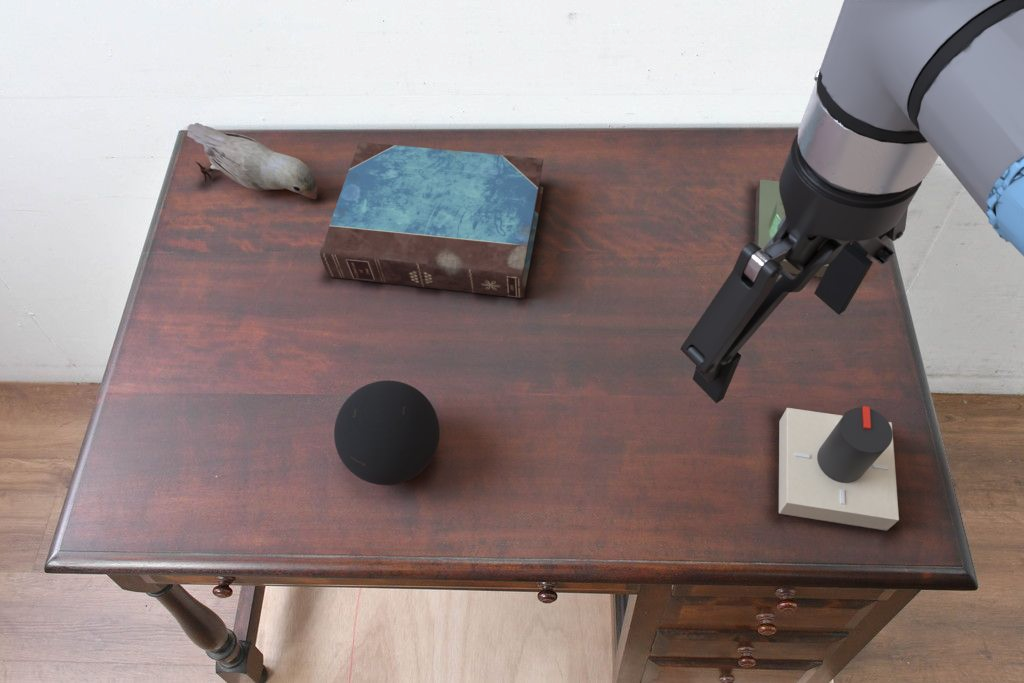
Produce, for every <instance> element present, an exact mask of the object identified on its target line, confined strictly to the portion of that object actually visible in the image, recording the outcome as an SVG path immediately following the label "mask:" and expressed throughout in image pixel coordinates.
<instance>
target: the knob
mask: <svg viewBox="0 0 1024 683" xmlns="http://www.w3.org/2000/svg"><path fill="white" fill-rule="evenodd" d="M842 416H843V417H842V418H841V420H840V421H839V422H838V424H837V425H836V426H835V428H834V429H833V431H832V432H831V433H830V435H829V436H828V437H827V439H826V440H825V442H824V443H823V444H822V446H821V447H820V449H819V451H818V455H817V460H818V464H819V466H820V468H821V470H822V471H823V472H824V474H825V475H827V476H828V477H829V478H831V479H832V480H835V481H837V482H841V483H850V482H854V481H856V480H858V479H859V478H860V477H861V476H862V475H863V474H864V473H865V472H866V471H867V470H868V469H869V467H870V466H871V465H872V464H873V463H874V462H875V461H876V460H877V459H878V457H879V456H880V455H881V454H882V453H883V452H884V451H885V450H886V449H887V447H888V446H889V445H890V443H891V441H892V436H893V437H894V434H892V432H893V428H892V429H891V426H890V424H889V422H890V421H888V419H887V418H886V417H885V416H884V415H883V414H881V413H880V412H878V411H876V410H874V409H872V408H871V407H870V406H867V405H863V406H862V407H859V406H858V407H854V408H851V409H849V410H848V411H846V412H845V413H844V414H843V415H842Z"/></svg>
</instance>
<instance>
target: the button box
mask: <svg viewBox="0 0 1024 683" xmlns="http://www.w3.org/2000/svg"><path fill="white" fill-rule="evenodd" d="M779 181H780V180H771V179H770V180H769V179H759V181H758V184H757V187H756V191H755V205H754V206H755V208H754V210H755V211H754V241H753V242H755V243H756V244H757V245H758V246H759V247H760V248H762V249H764V247H765V246H766V245H767V244H768V243H769V241H770V240H771V239H772V238H773V237H774V235H775V234H776V232H777V230H778V225H779V223H780V222H781V221H782V220H783V219H784V217H785V216H786V215H785V211H784V207H783V203H782V200H781V196H780V191H779ZM780 265H781V266H782V267H783V268H784V269H785V270H786V271H787V272H788V273H789V274H791V275H798V274H799V273H800V272H801V271H800V270H797V269H796V268H795V267H793V266H792V265H791V264H790V263H789V262H788V261H787V260H785V259H784V260H783V261H782V262H781V263H780ZM828 265H829V264H827V265H824V266H822V267H821V269H820V270H819V271H818V272H817V273H816V274H815V275H814V276H813V278H815V277H816V278H822V277H823V275H824V273H825V271H826V269H827V267H828Z"/></svg>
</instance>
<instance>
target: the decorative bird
mask: <svg viewBox="0 0 1024 683" xmlns="http://www.w3.org/2000/svg"><path fill="white" fill-rule="evenodd" d="M186 128H187V130H188V131H187V133H186V136H187V137H188V138H190V139H192V140H194V141H195V143H198V144H200V145H202V146H203V150H204V154H205V155H206V157H207V159H208V160H209V162H210V163H211V165H210V167H209V168H206V167H205V166H203V165H202V164H201V163H199V161H194V162H195V163H196V164H197V165H198V167H199V168H200V169H199V171H200V173H201V174H202V175H203V178H204V183H207V177H209V179H210V180H211V179H212V177H211V175H210V174H209V172H213V171H214V170H216V171H221V173H223V174H224V175H225V176H226V177H228V178H229V179H230V180H232V181H234V182H235V183H237V184H239V185H240V186H243V187H245V188H247V189H249V190H252V191H269V190H274V191H275V190H285V189H286V190H288V191H291V192H293V193H295V194H296V193H297V194H299V195H302V196H303V197H305V198H309V199H311V200H317V198H318V185H317V180H316V177H315V174H314V173H313V172H312V170H311V169H310V167H309V166H308V165H307V164H306V163H305V162H303V161H302V160H300V159H299V158H297V157H294V156H291V155H287V154H284V153H280V152H276V151H274V150H272V149H271V148H269V147H267V146H266V145H265V144H263V143H261V142H259V141H257V140H256V139H254V138H252V137H250V136H247V135H244V134H240V133H236V132H222V131H220V130H218V129H216V128H213V127H210V126H208V125H203V124H202V123H200V122H196V123H190V124H188V126H187V127H186Z"/></svg>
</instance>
